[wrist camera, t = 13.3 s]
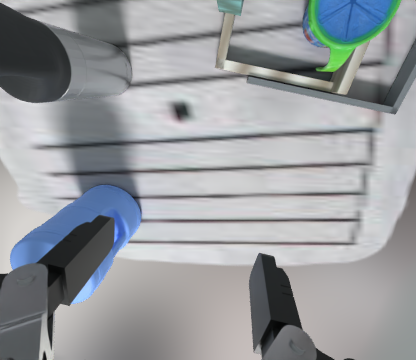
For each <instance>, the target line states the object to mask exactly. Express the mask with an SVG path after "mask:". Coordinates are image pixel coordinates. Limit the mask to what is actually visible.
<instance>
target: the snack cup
mask: <svg viewBox="0 0 416 360" xmlns="http://www.w3.org/2000/svg"><path fill="white" fill-rule="evenodd" d="M400 2H401V0H309V4H308V6H307V9H306V12H305V14H304V18H303V33H304V35H305V37H306V39H307V40H308V41H309V42H310V43H311V44H313V45H315V46H317V47H329V48H330V58H329V62H328V64H327V65H326V66H325V67H317V68H316V70H317V71H326V72H328V71H329V72H334V71H336V70H337V69H338V68H339V67H341V66H342V65H343V64H344V62H345V61H346V60H347V59H348V57H349V56H350V54H351V53H352V51H353V50H354V49H355V48H356V47H358V46H360V45H362V44H364V43H366V42H368V41H370V40H371V39H373V38H374V37H376V36H377V35H378V34H379V33H380V32H381V31H383V30H384V29H385V28H386V27H387V26H388V25H389V23H390V21H391V19H392V18H393V17H394V15H395V13H396V11H397V9H398V7H399V5H400Z"/></svg>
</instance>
